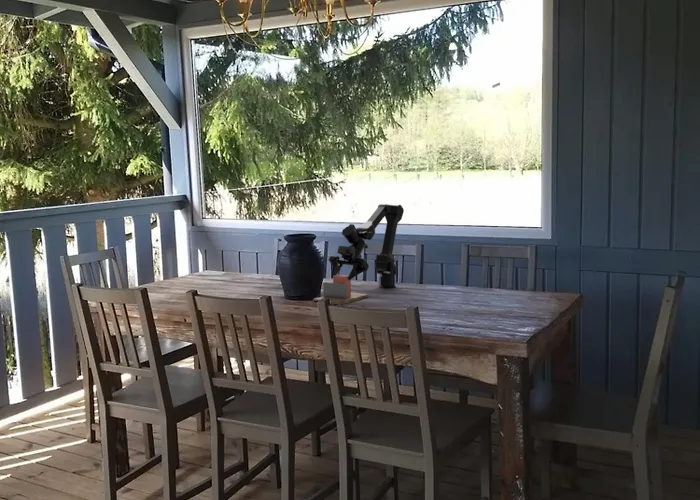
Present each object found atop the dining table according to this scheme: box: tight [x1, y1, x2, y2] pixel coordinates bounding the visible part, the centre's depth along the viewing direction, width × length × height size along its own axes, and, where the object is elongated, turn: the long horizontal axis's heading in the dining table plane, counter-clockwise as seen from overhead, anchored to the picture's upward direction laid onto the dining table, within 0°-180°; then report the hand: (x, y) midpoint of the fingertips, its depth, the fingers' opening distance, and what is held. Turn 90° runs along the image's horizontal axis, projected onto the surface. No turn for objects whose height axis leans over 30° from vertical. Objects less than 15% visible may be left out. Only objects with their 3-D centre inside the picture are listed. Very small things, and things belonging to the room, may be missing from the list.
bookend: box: [322, 281, 347, 300], centre depth 300 cm, size 1×12×6 cm, turn 52°
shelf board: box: [312, 291, 369, 306], centre depth 303 cm, size 20×14×1 cm
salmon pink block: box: [332, 274, 352, 297], centre depth 303 cm, size 4×6×9 cm, turn 52°
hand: (340, 278), depth 302 cm, fingers open, 9 cm apart
